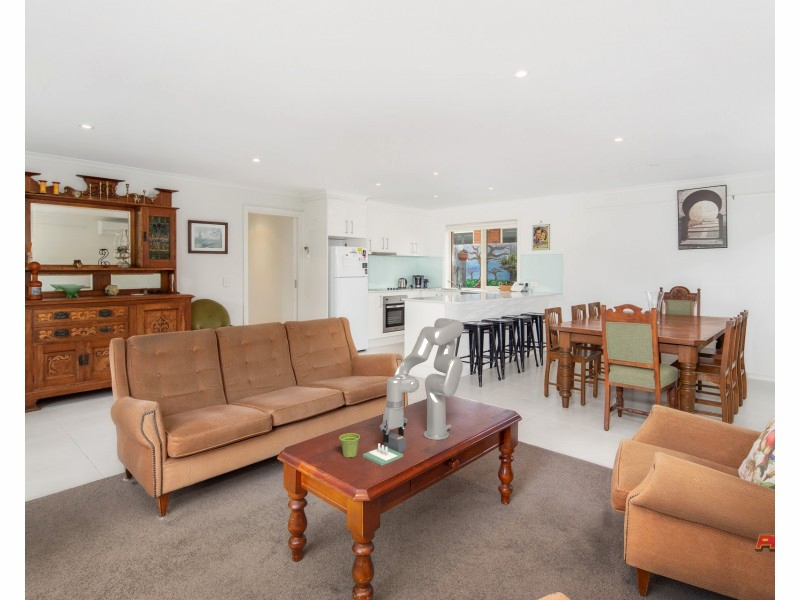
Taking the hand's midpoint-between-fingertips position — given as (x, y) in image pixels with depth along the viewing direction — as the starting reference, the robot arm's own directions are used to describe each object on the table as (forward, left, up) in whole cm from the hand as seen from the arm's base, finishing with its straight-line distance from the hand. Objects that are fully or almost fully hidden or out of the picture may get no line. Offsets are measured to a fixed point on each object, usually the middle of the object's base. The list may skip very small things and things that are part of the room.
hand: (393, 439), depth 215 cm
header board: (+10, +3, -5) cm, 11 cm away
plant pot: (+19, -9, -5) cm, 22 cm away
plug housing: (-1, 0, -5) cm, 5 cm away
